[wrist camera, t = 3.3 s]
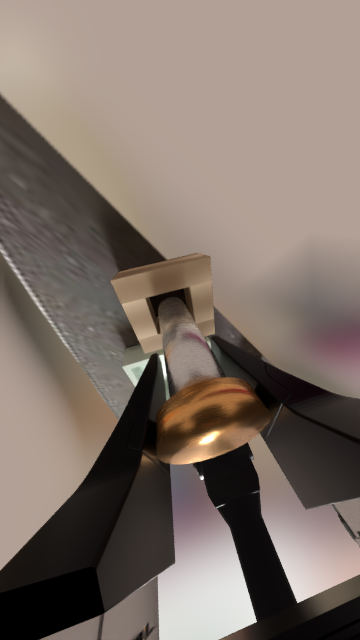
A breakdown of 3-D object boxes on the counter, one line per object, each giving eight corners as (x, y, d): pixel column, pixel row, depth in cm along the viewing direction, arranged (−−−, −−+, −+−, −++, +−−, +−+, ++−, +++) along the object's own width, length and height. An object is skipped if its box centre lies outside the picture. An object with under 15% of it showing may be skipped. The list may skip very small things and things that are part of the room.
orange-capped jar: (194, 321, 16) (262, 440, 6) (157, 331, 15) (172, 472, 6) (188, 285, 13) (282, 389, 4) (145, 296, 13) (137, 437, 4)
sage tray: (207, 373, 27) (214, 389, 24) (150, 391, 26) (150, 410, 24) (201, 326, 21) (210, 340, 18) (126, 348, 20) (122, 366, 17)
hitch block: (203, 318, 20) (214, 333, 17) (145, 334, 20) (144, 353, 16) (196, 253, 15) (210, 256, 12) (119, 271, 15) (110, 280, 11)
